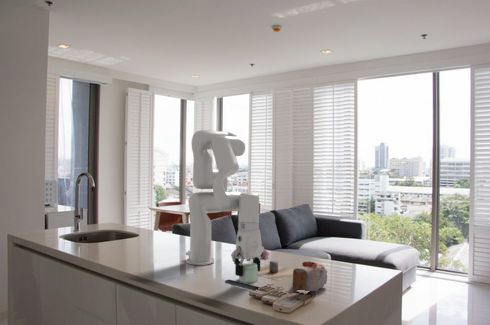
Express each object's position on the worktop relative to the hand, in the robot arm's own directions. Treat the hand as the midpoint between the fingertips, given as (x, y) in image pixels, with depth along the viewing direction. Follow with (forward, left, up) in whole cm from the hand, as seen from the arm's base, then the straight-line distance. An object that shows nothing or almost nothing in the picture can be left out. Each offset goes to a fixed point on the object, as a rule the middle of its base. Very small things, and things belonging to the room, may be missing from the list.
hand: (248, 273), depth 145 cm
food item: (+20, +10, -4) cm, 23 cm away
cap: (0, 0, -3) cm, 3 cm away
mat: (0, 0, -4) cm, 4 cm away
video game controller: (-21, +31, -4) cm, 37 cm away
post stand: (0, +15, -4) cm, 16 cm away
